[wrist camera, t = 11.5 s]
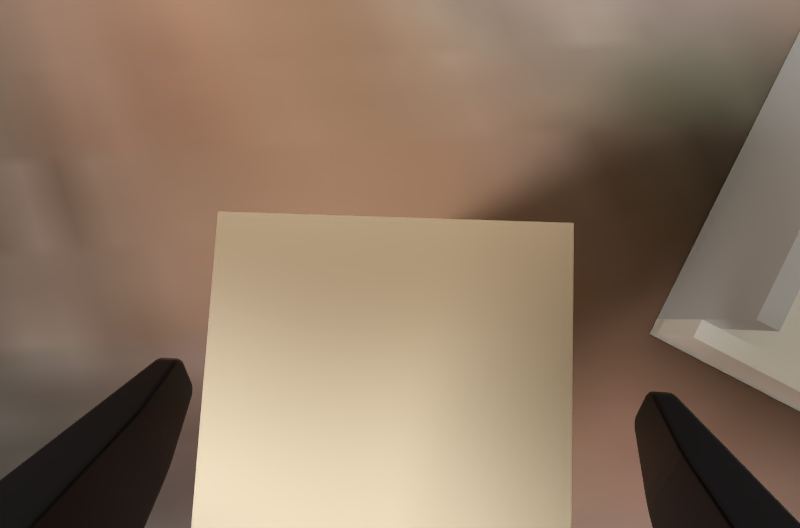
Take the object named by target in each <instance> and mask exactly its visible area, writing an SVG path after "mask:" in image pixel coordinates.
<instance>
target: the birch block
mask: <svg viewBox="0 0 800 528" xmlns="http://www.w3.org/2000/svg"><path fill="white" fill-rule="evenodd" d="M573 266H574V223H560V222H529V221H498V220H466V219H435V218H404V217H373V216H341V215H310V214H279V213H247V212H218V217H217V229H216V241H215V252H214V264H213V276H212V288H211V300H210V312H209V323H208V335H207V347H206V359H205V371H204V383H203V394H202V406H201V418H200V430H199V442H198V454H197V465H196V477H195V489H194V501H193V513H192V524H191V528H571V487H572V376H573Z"/></svg>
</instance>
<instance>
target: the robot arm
mask: <svg viewBox="0 0 800 528" xmlns="http://www.w3.org/2000/svg"><path fill="white" fill-rule="evenodd" d="M191 396H192V383H191V381H190V378H189V376H188V374H187V371H186V369H185V366H184V364H183V362H182V361H181V360H180V359H175V358H159V359H157V360H155V361H154V362H153V363H151V364H150V365H149V366H148V367H146V368H145V369H144V370H142V371H141V372H140V373H139V374H137V375H136V376H135V377H133V378H132V379H131V380H129V381H128V382H127V383H126V384H124V385H123V386H122V387H120V388H119V389H118V390H116V391H115V392H114V393H113V394H111V395H110V396H109V397H107V398H106V399H105V400H104V401H102V402H101V403H100V404H98V405H97V406H96V407H94V408H93V409H92V410H91V411H89V412H88V413H87V414H85V415H84V416H83V417H82V418H80V419H79V420H78V421H76V422H75V423H74V424H72V425H71V426H70V427H69V428H67V429H66V430H65V431H63V432H62V433H61V434H60V435H58V436H57V437H56V438H54V439H53V440H52V441H50V442H49V443H48V444H47V445H45V446H44V447H43V448H41V449H40V450H39V451H38V452H36V453H35V454H34V455H32V456H31V457H30V458H28V459H27V460H26V461H25V462H23V463H22V464H21V465H19V466H18V467H17V468H15V469H14V470H13V471H12V472H10V473H9V474H8V475H6V476H5V477H4V478H3V479H1V480H0V528H144V527H145V525H146V522H147V520H148V518H149V515H150V513H151V511H152V508H153V506H154V504H155V501H156V499H157V497H158V494H159V492H160V489H161V487H162V485H163V482H164V480H165V478H166V475H167V472H168V470H169V467H170V464H171V461H172V458H173V455H174V452H175V449H176V445H177V442H178V439H179V436H180V432H181V429H182V426H183V422H184V419H185V416H186V413H187V409H188V406H189V403H190V399H191ZM635 433H636V439H637V445H638V452H639V458H640V464H641V470H642V477H643V483H644V489H645V495H646V501H647V506H648V511H649V515H650V519H651V523H652V526H653V528H800V523H799V522H798V521H797V520H796V519H795V518H794V517H793V516H792V515H791V514H790V513H789V511H788V510H787V509H786V508H785V507H784V506H783V505H782V504H781V503H780V502H779V501H778V500H777V499H776V498H775V497H774V496H773V495H772V494H771V493H770V492H769V491H768V490H767V489H766V488H765V487H764V486H763V485H762V484H761V483H760V482H759V481H758V480H757V479H756V478H755V477H754V476H753V475H752V473H751V472H750V471H749V470H748V469H747V468H746V467H745V466H744V465H743V464H742V463H741V462H740V461H739V460H738V459H737V458H736V457H735V456H734V455H733V454H732V453H731V452H730V451H729V450H728V449H727V448H726V447H725V446H724V445H723V444H722V443H721V442H720V441H719V440H718V439H717V438H716V437H715V435H714V434H713V433H712V432H711V431H710V430H709V429H708V428H707V427H706V426H705V425H704V424H703V423H702V422H701V421H700V420H699V419H698V418H697V417H696V416H695V415H694V414H693V413H692V412H691V411H690V410H689V409H688V408H687V407H686V406H685V405H684V404H683V403H682V402H681V401H680V400H679V399H678V398H677V397H676V396H675V395H674V394H672V393H667V392H649V393H648V394H647V395H646V397H645V399H644V401H643V403H642V405H641V407H640V409H639V411H638V413H637V415H636V418H635Z"/></svg>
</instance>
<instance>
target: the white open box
mask: <svg viewBox="0 0 800 528" xmlns="http://www.w3.org/2000/svg"><path fill="white" fill-rule="evenodd" d="M650 335H652V336H654V337H656V338H658V339H660V340H662V341H664V342H666V343H668V344H670V345H672V346H674V347H676V348H677V349H679V350H681V351H683V352H685V353H687V354H689V355H691V356H693V357H695V358H697V359H699V360H701V361H703V362H705V363H707V364H708V365H710V366H712V367H714V368H716V369H718V370H720V371H722V372H724V373H726V374H728V375H730V376H732V377H734V378H736V379H738V380H739V381H741V382H743V383H745V384H747V385H749V386H751V387H753V388H755V389H757V390H759V391H761V392H763V393H765V394H767V395H769V396H770V397H772V398H774V399H776V400H778V401H780V402H782V403H784V404H786V405H788V406H790V407H792V408H794V409H796V410H798V411H800V32H799V34H798V36H797V38H796V40H795V42H794V44H793V46H792V48H791V50H790V52H789V54H788V56H787V58H786V60H785V62H784V64H783V66H782V68H781V70H780V72H779V74H778V76H777V78H776V80H775V82H774V84H773V86H772V88H771V91H770V93H769V95H768V97H767V99H766V101H765V103H764V105H763V107H762V109H761V111H760V113H759V115H758V117H757V119H756V121H755V123H754V125H753V127H752V129H751V131H750V133H749V135H748V137H747V139H746V141H745V143H744V145H743V147H742V149H741V151H740V153H739V155H738V157H737V159H736V161H735V163H734V165H733V167H732V169H731V171H730V173H729V175H728V177H727V179H726V181H725V183H724V185H723V187H722V189H721V191H720V193H719V195H718V197H717V199H716V201H715V203H714V205H713V207H712V209H711V211H710V213H709V215H708V217H707V219H706V221H705V223H704V225H703V227H702V229H701V231H700V233H699V235H698V237H697V239H696V241H695V243H694V245H693V247H692V249H691V251H690V253H689V255H688V257H687V259H686V261H685V263H684V266H683V268H682V270H681V272H680V274H679V276H678V278H677V280H676V282H675V284H674V286H673V288H672V290H671V292H670V294H669V296H668V298H667V300H666V302H665V304H664V306H663V308H662V310H661V312H660V314H659V316H658V318H657V320H656V322H655V324H654V326H653V328H652V330H651V332H650Z"/></svg>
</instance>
